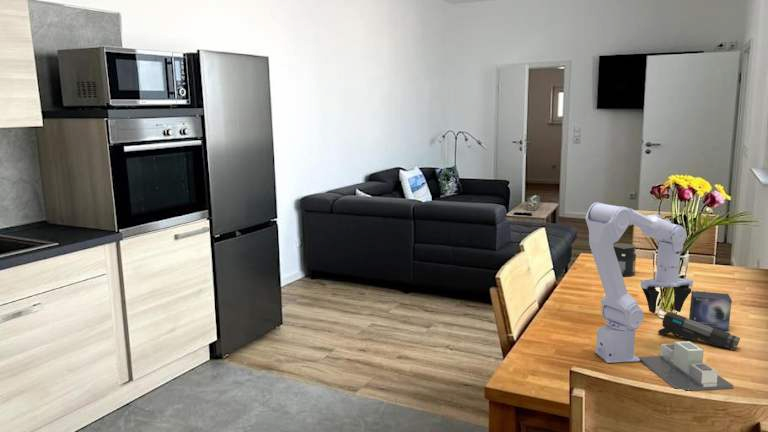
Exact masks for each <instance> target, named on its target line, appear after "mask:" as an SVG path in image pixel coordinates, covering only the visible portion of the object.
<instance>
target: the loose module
mask: <svg viewBox="0 0 768 432" xmlns="http://www.w3.org/2000/svg"><path fill="white" fill-rule="evenodd" d="M674 343H675V346H674V359H673V364H674V365H676V366H677V367H679V368H680V369H681V370H683V371H684V372H686V373H689V368H690V364H695V363H704V362H703V361H704V360H703V359H704V349H702V348H701V347H699V346H698V345H696V344H694V343H693V342H692V341H691V340H688V341H675V342H674Z"/></svg>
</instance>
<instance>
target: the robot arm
mask: <svg viewBox="0 0 768 432" xmlns="http://www.w3.org/2000/svg"><path fill="white" fill-rule="evenodd" d="M584 219H585V223H586V225H587V226H586V227H587V228H588V244H589V246H590V250H591V254H592V256H593V260H594V262H595V266H596V269H597V272H598V275H599V278H600V281H601V285H602V288H603V290H604V294H605V295H604V296H603V297H602V298H601V299H600V304H601V315H602V317H603V319H604V320H605V324H606V325H603V326H599V327H598V329H597V332H596V340H595V341H596V344H595V350H594V353H596V354H597V355H598V356H599V357H600V358H601V359H602V360H603V361H604V362H605V363H607V364H610V363H612V364H613V363H614V364H615V363H631V362H640V359H639V358H638V357H639V356H637V355H635V342H636V330H638V329H639V327H640V326H641V325H642V323H643V321H644V317H645V316H644V311H643V309H642V308H641V307H640V306H639V304H638V301H637V300H636V299H635V298H634V297H633V296H631V295H630V293H628V289H627V287H626V283H625V280H624V276H622V273H621V270H620V267H619V263H618V260H617V257H616V254H615V250H614V247H613V244H616V243H617V242H619V240H620V239H621V238H622V237H623V234H624V233H625V232H626V230H627V229H628V228H629V227H630V226H632V225H633V226H635V227H638V228H640V231H641V232H642V234H643V235H646V236H649V237H650V238H653V239H654V240H655V241H656V242H657V244H658V246H657V257H656V258H657V260H656V261H657V263H656V275H655V276H656V277H655V278H650V279H649V278H648V279H643V280H640V288H641V290H642V292H643V294H644V296H645V298H646V302H647V307H648V312H650V313H652V314H656V311H657V301H658V298H659V294H660V292H659V291H658V290H657V288H673V294H674V300H673V309H674V311H676V312H678V313H681V311H682V308H683V306H684V304H685V301H686V300H687V298H688V297H689V295H690V294H691V292H692V288H693V285H694V284H693V283H694V280H693V279H691V278H681V277H679V275H680V264H681V263H680V261H681V252H682V251H683V249H684V243H685V242H686V240H687V237H688V234H687V231H686V229H685V227H683V226H682V225H679V224H675V223H672V220H669V219H663V218H662V215H660V214H657V213H654V214H649V215H644V214H643V213H640V212H638V211H637V210H635V209H633V208H630V207H626V206H623V205H622V206H618V205H613V204H606V203H602V202H600V201H597V202H594V203H592V204H591V205H590V207H589V208H588V210H587V212H586V215H585V217H584Z"/></svg>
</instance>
